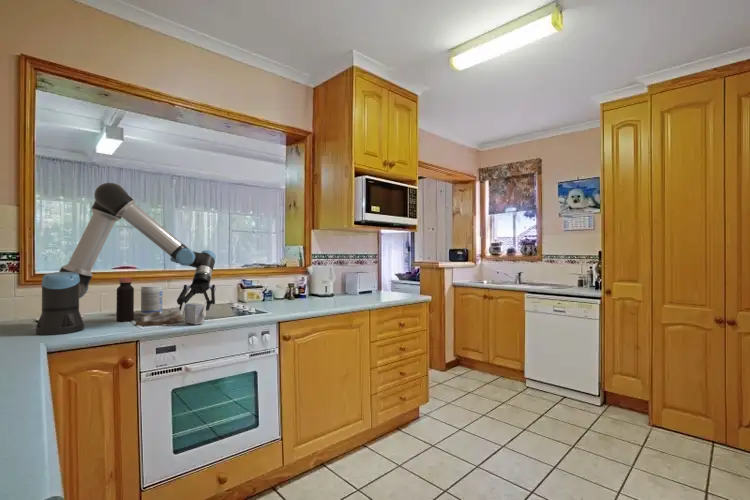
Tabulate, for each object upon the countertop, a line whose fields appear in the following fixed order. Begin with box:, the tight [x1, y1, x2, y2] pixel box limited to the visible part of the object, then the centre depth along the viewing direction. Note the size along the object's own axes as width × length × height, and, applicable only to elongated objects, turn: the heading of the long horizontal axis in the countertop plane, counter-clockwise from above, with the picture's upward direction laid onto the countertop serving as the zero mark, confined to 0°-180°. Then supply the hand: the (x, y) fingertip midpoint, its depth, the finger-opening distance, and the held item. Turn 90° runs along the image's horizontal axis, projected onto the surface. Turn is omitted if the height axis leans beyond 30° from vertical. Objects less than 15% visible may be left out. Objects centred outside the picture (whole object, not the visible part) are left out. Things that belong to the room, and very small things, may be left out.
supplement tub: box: [140, 285, 163, 317], centre depth 199 cm, size 10×10×15 cm
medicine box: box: [184, 302, 205, 326], centre depth 173 cm, size 8×4×9 cm, turn 58°
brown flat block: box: [135, 310, 183, 327], centre depth 178 cm, size 14×18×4 cm
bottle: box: [115, 277, 135, 323], centre depth 180 cm, size 7×7×20 cm
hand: (192, 316), depth 169 cm, fingers closed on medicine box, 8 cm apart
